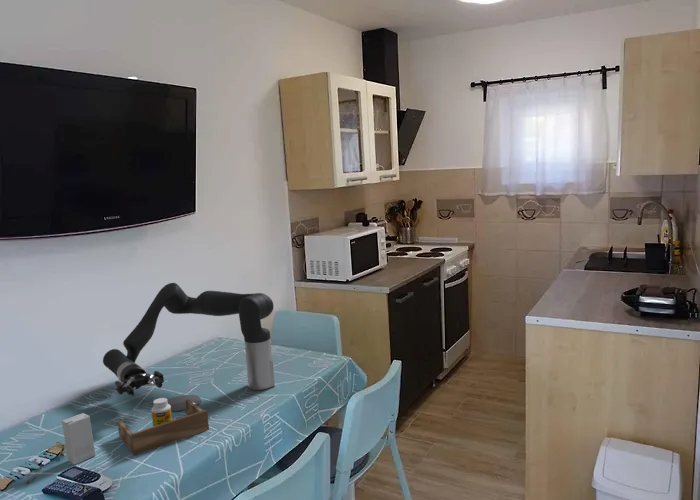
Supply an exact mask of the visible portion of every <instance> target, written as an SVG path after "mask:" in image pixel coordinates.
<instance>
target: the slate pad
mask: <svg viewBox="0 0 700 500" xmlns="http://www.w3.org/2000/svg"><path fill="white" fill-rule="evenodd" d="M187 399H189V400H190V401H192V402H193V403H194V404H195V405H197V406H198V407H199V405H200V404H201V397H200V396H199V395H195V394H183V395H182V394H181V395H177V396H174V397H171V398H169V399H167V402H168V404H169V405H170V406H171V413H177V412H185V411H186V412H187V410H186V400H187Z"/></svg>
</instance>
